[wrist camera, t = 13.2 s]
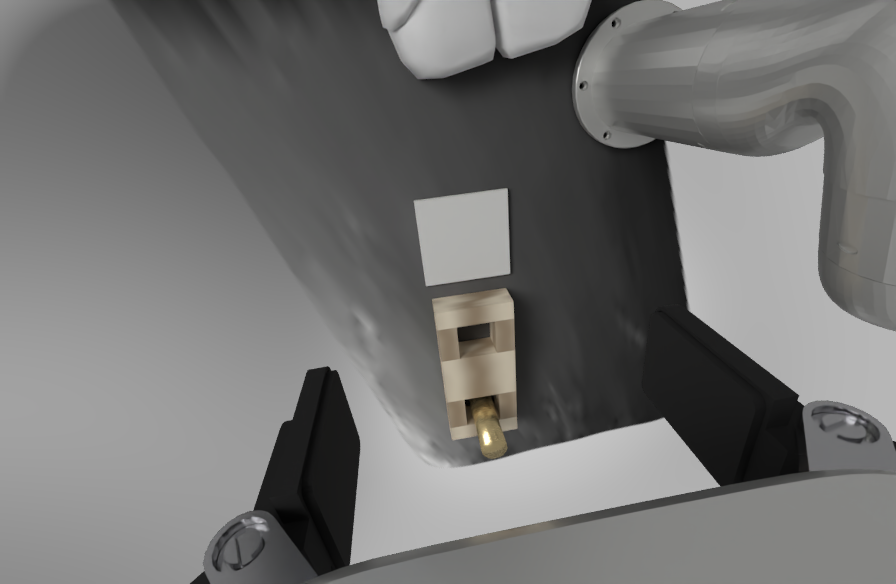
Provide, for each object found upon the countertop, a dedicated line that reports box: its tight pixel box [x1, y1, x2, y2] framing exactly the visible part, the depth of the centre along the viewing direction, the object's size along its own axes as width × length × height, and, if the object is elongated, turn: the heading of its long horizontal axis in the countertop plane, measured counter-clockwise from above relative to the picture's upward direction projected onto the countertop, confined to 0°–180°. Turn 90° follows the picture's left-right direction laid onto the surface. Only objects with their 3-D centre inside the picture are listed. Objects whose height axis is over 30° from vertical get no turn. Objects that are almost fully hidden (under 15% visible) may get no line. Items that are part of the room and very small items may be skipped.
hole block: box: [432, 288, 517, 440], centre depth 51 cm, size 9×20×4 cm, turn 6°
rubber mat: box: [414, 188, 510, 286], centre depth 45 cm, size 10×10×1 cm
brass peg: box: [469, 395, 507, 459], centre depth 51 cm, size 3×3×10 cm
